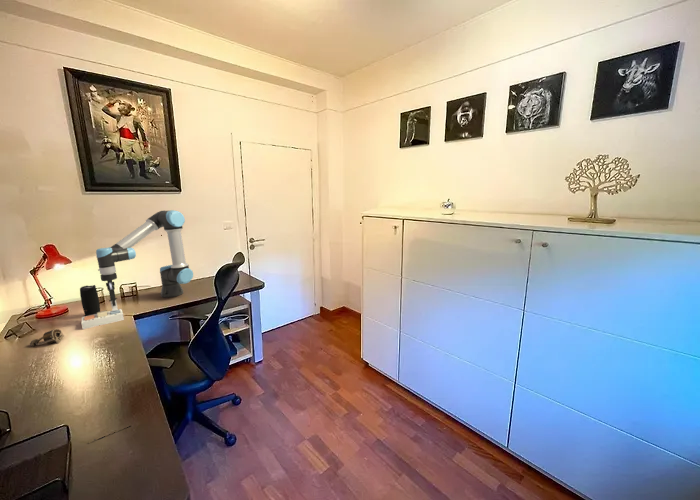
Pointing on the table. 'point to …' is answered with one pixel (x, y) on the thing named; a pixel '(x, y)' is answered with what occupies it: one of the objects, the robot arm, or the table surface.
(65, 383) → the table surface
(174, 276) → the robot arm
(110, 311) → the one dot button
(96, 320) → the button panel
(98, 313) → the two dot button
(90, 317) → the three dot button
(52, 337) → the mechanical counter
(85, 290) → the portable speaker
